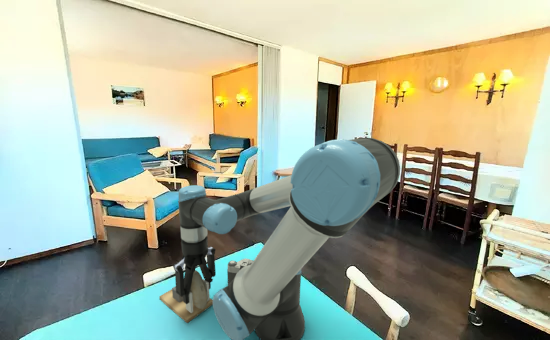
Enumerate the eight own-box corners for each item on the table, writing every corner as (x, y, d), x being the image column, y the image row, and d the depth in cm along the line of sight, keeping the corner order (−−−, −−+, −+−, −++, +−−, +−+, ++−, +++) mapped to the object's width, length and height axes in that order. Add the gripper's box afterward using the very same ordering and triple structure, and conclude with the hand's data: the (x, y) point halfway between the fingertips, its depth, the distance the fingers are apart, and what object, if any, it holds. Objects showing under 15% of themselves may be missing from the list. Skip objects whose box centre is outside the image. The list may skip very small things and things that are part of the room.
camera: (273, 276, 95) (273, 253, 93) (266, 294, 85) (267, 269, 83) (235, 271, 98) (235, 248, 96) (225, 287, 88) (224, 263, 86)
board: (213, 303, 80) (213, 300, 80) (187, 323, 72) (186, 319, 72) (185, 284, 90) (185, 281, 89) (159, 299, 82) (159, 296, 81)
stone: (202, 315, 73) (201, 279, 71) (184, 311, 75) (181, 276, 72) (211, 301, 79) (210, 268, 77) (193, 298, 80) (192, 266, 78)
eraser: (192, 294, 83) (192, 285, 82) (179, 302, 79) (178, 293, 78) (185, 289, 85) (185, 280, 84) (172, 297, 81) (172, 288, 80)
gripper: (211, 223, 81) (213, 284, 86) (157, 245, 67) (163, 316, 71) (226, 229, 77) (228, 293, 82) (172, 254, 62) (178, 330, 67)
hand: (198, 304), depth 77 cm, fingers closed on stone, 5 cm apart
